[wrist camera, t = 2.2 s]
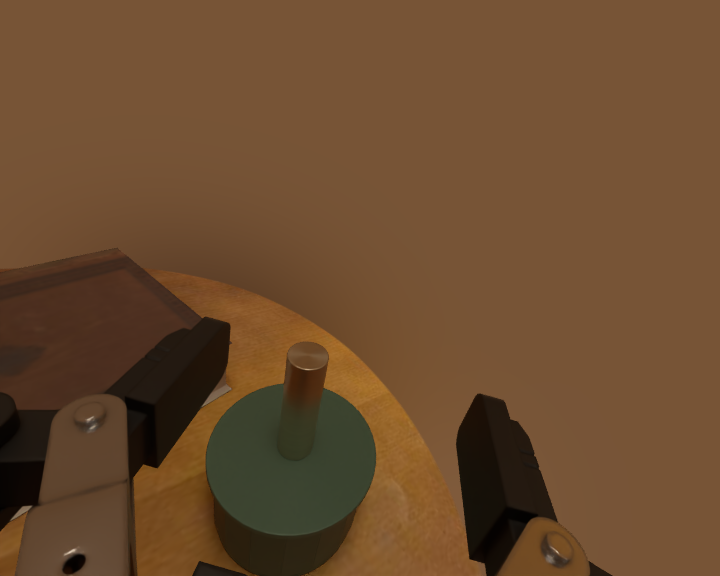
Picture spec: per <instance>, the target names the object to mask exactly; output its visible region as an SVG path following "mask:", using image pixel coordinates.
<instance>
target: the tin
mask: <svg viewBox="0 0 720 576" xmlns="http://www.w3.org/2000/svg"><path fill="white" fill-rule="evenodd" d="M356 510H357V508H356ZM356 510H355V511H354V512H353V513H352V514H351V515H350V516H349V517H347V518H346V519H345V520H344V521H343V522H341V523H340V524H338V525H336V526H335V527H333V528H331V529H329V530H327V531H325V532H322V533H320V534H317V535H314V536H310V537H306V538H299V539H276V538H270V537H265V536H262V535H259V534H255V533H253V532H251V531H249V530H247V529H245V528H243V527H241V526H240V525H238V524H237V523H236V522H234V521H233V520H232V519H230V518H229V517H228V516H227V515H226V514H225V513H224V512H223V510H222V509H221V508H220V506H219V505H218V504H217V502H216V501H215V499H214V517H215V525H216V527H217V531H218V534H219V537H220V540H221V542H222V544H223V546H224V548H225V550H226V551H227V552H228V554H229V555H230V556H231V558H232V559H233V560H234V561H235V562H236V563H237V564H239V565H240V566H241V567H243V568H244V569H246V570H248V571H249V572H251V573H253V574H256V575H259V576H300V575H303V574H306V573H308V572H310V571H312V570H314V569H316V568H318V567H319V566H321V565H322V564H324V563H325V562H326V561H327V560H328V559H329V558H330V557H331V556H332V555H333V554H334V553H335V552H336V551H337V550H338V548H339V547H340V545H341V544H342V542H343V541H344V539H345V537H346V534H347V532H348V531H349V529H350V527H351V525H352V522H353V519H354V516H355V513H356Z"/></svg>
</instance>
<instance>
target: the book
mask: <svg viewBox="0 0 720 576" xmlns="http://www.w3.org/2000/svg"><path fill="white" fill-rule="evenodd" d="M201 319H202V318H201V317H200V316H199V315H198V314H196V313H195V312H194V311H193V310H192V309H190V308H189V307H188V306H187V305H186V304H184V303H183V302H182V301H181V300H180V299H178V298H177V297H176V296H175V295H174V294H172V293H171V292H170V291H169V290H168V289H166V288H165V287H164V286H163V285H161V284H160V283H159V282H158V281H157V280H155V279H154V278H153V277H152V276H151V275H149V274H148V273H147V272H146V271H145V270H143V269H142V268H141V267H140V266H138V265H137V264H136V263H135V262H134V261H133V260H131V259H130V258H129V257H128V256H126V255H125V254H124V253H123V252H121V251H120V250H119V249H118V248H114V249H109V250H104V251H100V252H95V253H90V254H85V255H81V256H76V257H71V258H66V259H62V260H57V261H52V262H48V263H43V264H38V265H33V266H28V267H24V268H19V269H14V270H9V271H5V272H0V392H3V393H6V394H8V395H10V396H11V397H12V398H13V399H14V401H15V404H16V407H17V410H58V409H62V408H63V407H64V406H65V405H67V404H68V403H70V402H72V401H74V400H76V399H78V398H81V397H84V396H88V395H93V394H103V393H104V392H105V391H106V390H108V389H109V388H110V387H111V386H112V385H113V384H114V383H115V382H116V381H117V380H118V379H120V378H121V377H122V376H123V375H124V374H125V373H126V372H127V371H128V370H129V369H130V368H131V367H133V366H134V365H135V364H136V363H137V362H138V361H139V360H140V359H141V358H142V357H143V358H144V357H145V355H146V354H147V353H148V352H149V351H150V350H151V349H152V348H154V347H155V345H157V344H158V343H159V342H160V341H161V340H162V339H163V338H164V337H165V336H166V335H168V334H170V333H172V332H175V331H177V330H179V329H181V328H187V329H190V330H191V329H192V328H193V327H194V326H195V325H196V324H197V323H198V322H199V321H200V320H201ZM230 344H232V343H231V342H230V341H229V345H230ZM230 390H232V389H231V388H230V387H229V386H228V385H227V384H226V370H225V372H224V375H223V377H222V378H221V380H220V382H219V383H218V384H217V386H216V387H215V389H214V390H213V391H212V393H211V394H210V396H209V397H208V398H207V400H206V401H205V403H204V404H203V405H202V407H203V406H205V405H206V404H208V403H210V402H211V401H213V400H215V399H216V398H218V397H220V396H221V395H223V394H225V393H227V392H228V391H230ZM31 507H32V506H23V507H22V508H21V509H20V510H19V511H18V512H17V513H16V514H15V516H14V517H13V518H12V519H11V520H13V519H15V518H16V517H18V516H20V515H21V514H23V513H25V512H26V511H28V510H29V509H30V508H31ZM11 520H10V521H11Z"/></svg>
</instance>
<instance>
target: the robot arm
mask: <svg viewBox="0 0 720 576" xmlns="http://www.w3.org/2000/svg"><path fill="white" fill-rule="evenodd" d="M229 340H230V324H229V323H227V322H223V321H220V320H216V319H213V318H209V317H204V318H202V319H201V320H200V321H199V322H198V323H197V324H196V325H195V326H194V327H193V328H192V329H191V330H190V329H187V328H181V329H179V330H177V331H175V332H172V333H170V334H168V335H166V336H165V337H164V338H163V339H162V340H161V341H160V342H159V343H158V344H157V345H155V347H154V348H152V349H151V350H150V351H149V352H148V353H147V354H146V355H145V357H144V358H143V357H142V358H141V359H140V360H139V361H138V362H137V363H136V364H135V365H134V366H133V367H131V368H130V369H129V370H128V371H127V372H126V373H125V374H124V375H123V376H122V377H121V378H120V379H118V380H117V381H116V382H115V383H114V384H113V385H112V386H111V387H110V388H109V389H108V390H106V391H105V392H104V393H103V394H93V395H88V396H84V397H81V398H78V399H76V400H74V401H72V402H70V403H68V404H67V405H65V406H64V407H63V408H62V409H58V410H17V407H16V404H15V401H14V399H13V398H12V397H11V396H10V395H8V394H6V393H3V392H0V531H1V530H2V529H3V528H4V527H5V525H6V524H7V523H8V522H9V521H10V520H11V519H12V518H13V517H14V516H15V514H16V513H17V512H18V511H19V510H20V509H21V508H22V507H23V506H32V507H31V508H30V509H29V511H28V513H27V516H26V520H25V524H24V530H23V535H22V540H21V546H20V551H19V556H18V562H17V567H16V572H15V576H138V575H137V560H136V537H135V509H134V480H133V477H134V476H135V475H136V473H137V472H138V471H139V469H140V468H141V467H142V465H143V464H144V465H147V466H151V467H154V468H158V467H159V466H160V464H161V463H162V461H163V460H164V459H165V457H166V456H167V454H168V453H169V452H170V450H171V449H172V447H173V446H174V445H175V443H176V442H177V440H178V439H179V438H180V436H181V435H182V433H183V432H184V431H185V429H186V428H187V426H188V425H189V424H190V422H191V421H192V419H193V418H194V417H195V415H196V414H197V412H198V411H199V410H200V408H201V407H202V405H203V404H204V403H205V401H206V400H207V398H208V397H209V396H210V394H211V393H212V391H213V390H214V389H215V387H216V386H217V384H218V383H219V382H220V380H221V378H222V377H223V375H224V372H225V370H226V367H227V363H228V353H229ZM456 448H457V456H458V465H459V474H460V482H461V490H462V499H463V507H464V516H465V525H466V533H467V542H468V551H469V559H471V560H474V561H478V562H481V563H485V568H486V574H487V576H612V575H610V574H609V573H607V572H606V571H604V570H602V569H600V568H599V567H597V566H595V565H594V564H593V563H591V562H590V561H588V559H587V556H586V554H585V552H584V550H583V548H582V547H581V545H580V543H579V542H578V541H577V540H576V538H575V537H574V536H573V535H572V534H571V533H570V532H569V531H568V530H567V529H566V528H564V527H563V526H562V525H560V524H559V523H558V521H557V518H556V515H555V513H554V509H553V506H552V503H551V500H550V498H549V495H548V492H547V489H546V486H545V483H544V480H543V477H542V474H541V471H540V470H539V465H538V463H537V459H536V457H535V456H534V450H533V448H532V444H531V442H530V439H529V437H528V435H527V434H526V432H525V431H524V430H523V428H522V427H521V426H520V424H519V423H518V422H517V421H514V420H510V417H509V413H508V410H507V407H506V404H505V402H504V401H503V400H501V399H497V398H494V397H490V396H487V395H483V394H477V395H476V396H475V398H474V400H473V402H472V404H471V406H470V408H469V410H468V412H467V413H466V415H465V417H464V419H463V421H462V423H461V425H460V427H459V430H458V434H457V442H456ZM192 576H247V575H246V574H242V573H239V572H235V571H232V570H228V569H225V568H221V567H218V566H215V565H211V564H208V563H204V562H201V561H199V563H198V565H197V567H196V569H195V571H194V573H193V575H192Z"/></svg>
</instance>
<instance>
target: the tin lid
mask: <svg viewBox="0 0 720 576" xmlns="http://www.w3.org/2000/svg"><path fill="white" fill-rule="evenodd" d="M328 360H329V355H328V352H327V350H326V349H325V348H324V347H323V346H321V345H319V344H317V343H314V342H300V343H297V344H294V345H293V346H292V347H290V349H289V350H288V353H287V361H286V370H285V379H284V384H277V385H272V386H268V387H265V388H262V389H259V390H257V391H255V392H252V393H250V394H248V395H247V396H245V397H243V398H242V399H240V400H239V401H238V402H236V403H235V404H234V405H233V406H232V407H230V408H229V409H228V410H227V411H226V413H225V414H224V415H223V416H222V417H221V418H220V420H219V422H218V423H217V425H216V426H215V428H214V430H213V432H212V434H211V436H210V440H209V443H208V446H207V452H206V474H207V481H208V484H209V487H210V490H211V493H212V495H213V497H214V499H215V501H216V502H217V504H218V505H219V506H220V508H221V509H222V510H223V512H224V513H225V514H226V515H227V516H228V517H229V518H230V519H232V520H233V521H234V522H236V523H237V524H238V525H240V526H241V527H243V528H245V529H247V530H249V531H251V532H253V533H255V534H259V535H262V536H265V537H270V538H276V539H299V538H306V537H310V536H314V535H317V534H320V533H322V532H325V531H327V530H329V529H331V528H333V527H335V526H336V525H338V524H340V523H341V522H343V521H344V520H345V519H346V518H347V517H349V516H350V515H351V514H352V513H353V512H354V511H355V510H356V508H357V507H358V506H359V505H360V503H361V502H362V500H363V499H364V498H365V496H366V494H367V492H368V490H369V488H370V485H371V482H372V479H373V476H374V472H375V466H376V449H375V443H374V439H373V435H372V433H371V430H370V428H369V426H368V424H367V422H366V421H365V419H364V418H363V416H362V415H361V414H360V412H359V411H358V410H357V409H356V408H355V407H354V406H353V405H352V404H351V403H349V402H348V401H347V400H346V399H344V398H343V397H341V396H340V395H338V394H336V393H334V392H332V391H330V390H327V389H325V388H323V387H324V382H325V377H326V371H327V366H328Z"/></svg>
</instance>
